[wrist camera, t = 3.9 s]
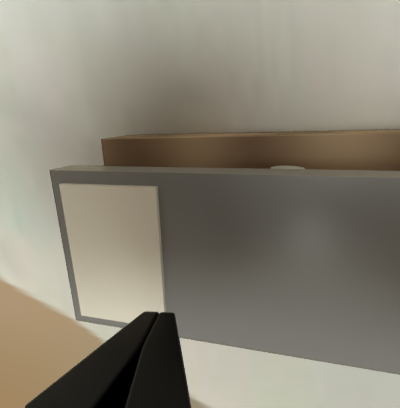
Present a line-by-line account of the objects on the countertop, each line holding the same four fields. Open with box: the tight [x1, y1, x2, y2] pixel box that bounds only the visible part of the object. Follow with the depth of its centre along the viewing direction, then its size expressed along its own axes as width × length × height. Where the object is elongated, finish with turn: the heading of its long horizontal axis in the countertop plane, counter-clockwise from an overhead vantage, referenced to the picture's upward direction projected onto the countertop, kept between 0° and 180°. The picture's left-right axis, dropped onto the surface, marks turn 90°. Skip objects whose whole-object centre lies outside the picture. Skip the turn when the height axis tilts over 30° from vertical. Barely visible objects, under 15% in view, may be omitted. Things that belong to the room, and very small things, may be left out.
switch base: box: [101, 130, 400, 171], centre depth 15 cm, size 16×9×6 cm, turn 92°
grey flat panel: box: [50, 166, 400, 375], centre depth 11 cm, size 18×7×2 cm, turn 93°
